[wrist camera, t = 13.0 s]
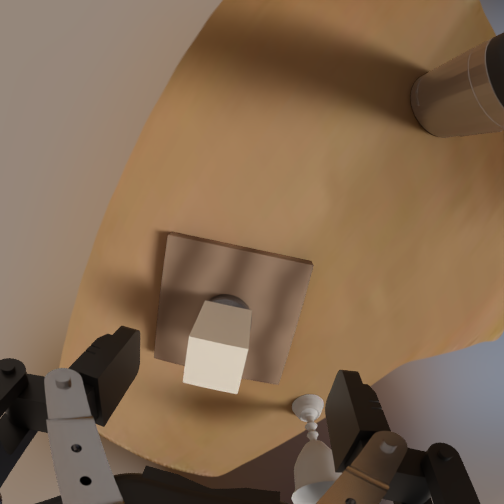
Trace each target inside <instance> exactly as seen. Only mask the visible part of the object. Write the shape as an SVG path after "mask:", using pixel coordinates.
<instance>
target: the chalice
mask: <svg viewBox="0 0 504 504" xmlns="http://www.w3.org/2000/svg"><path fill="white" fill-rule="evenodd" d="M323 406H324V403H323V400H322V399H321V398H320V397H319V396H317V395H313V394H307V395H303V396H300V397H298V398H297V399H296V400H295V401H294V402H293V404H292V411H293V412H294V413H295V414H296V416H297V417H298V418H299V419H300V420H302V421H305V422H307V424H306V426H305V428H306V429H307V430H308V431H309V433H308V434H307V437H308V438H309V439H310V442H308V443H307V444H306V445H305V446H304V448H303V449H302V451H301V453H300V454H299V456H298V459H297V462H296V464H295V468H294V477H295V489H296V490H295V492H294V494H293V496H292V501H293V503H294V504H316V503H317V502H318V500H319V499H320V498H321V497H322V496H323V495H324V494H325V493H326V492H327V490H328V489H329V488H330V487H331V486H332V485H333V483H334V482H335V481H336V480H337V479H338V478H339V476H340V475H341V474H342V473H335V467H334V461H333V455H332V450H331V449H330V448H329V447H327V446H326V445H325V444H324V443H323V442H321V441H318V440H317V436H318V433H317V432H316V431H315V429H316V428H317V424H316V423H314V420H315V419H317V418H318V417H319V416H320V414H321V411H322V409H323Z"/></svg>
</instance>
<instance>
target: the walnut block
mask: <svg viewBox="0 0 504 504" xmlns="http://www.w3.org/2000/svg"><path fill="white" fill-rule="evenodd" d="M313 266H314V265H313V264H312V262H311V261H308V260H303V259H299V258H294V257H289V256H284V255H280V254H275V253H270V252H266V251H261V250H256V249H251V248H247V247H242V246H237V245H232V244H228V243H223V242H218V241H214V240H209V239H204V238H199V237H195V236H190V235H185V234H180V233H175V232H171V233H170V234H168V237H167V244H166V251H165V258H164V266H163V274H162V282H161V290H160V299H159V308H158V318H157V329H156V340H155V352H154V358H156V359H160V360H163V361H167V362H171V363H175V364H179V365H183V366H185V361H186V354H187V347H188V340H189V335H190V333H191V331H192V328H193V326H194V324H195V322H196V320H197V317H198V315H199V313H200V311H201V308H202V306H203V304H204V302H205V300H206V301H208V300H210V299H211V298H212V297H214V296H217V295H221V294H230V295H234V296H237V297H239V298H240V299H242V300H243V301H244V302H245V303H246V304H247V305H248V307H249V309H250V310H252V322H251V330H250V338H249V349H248V353H247V357H246V361H245V365H244V369H243V373H242V379H248V380H253V381H259V382H264V383H270V384H276V385H279V382H280V379H281V376H282V372H283V369H284V366H285V363H286V360H287V357H288V353H289V350H290V347H291V343H292V340H293V337H294V333H295V330H296V327H297V323H298V320H299V316H300V313H301V309H302V306H303V302H304V299H305V295H306V292H307V288H308V284H309V281H310V277H311V273H312V270H313Z"/></svg>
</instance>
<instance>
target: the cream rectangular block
mask: <svg viewBox="0 0 504 504" xmlns="http://www.w3.org/2000/svg"><path fill="white" fill-rule="evenodd" d="M251 316H252V310H248V309H243V308H238V307H234V306H229V305H224V304H220V303H215V302H210V301H206V300H205V302H204V304H203V306H202V308H201V311H200V313H199V315H198V317H197V320H196V322H195V324H194V326H193V328H192V331H191V333H190V335H189V340H188V347H187V354H186V361H185V369H184V377H183V382H184V383H188V384H192V385H196V386H200V387H205V388H209V389H214V390H219V391H223V392H228V393H234V394H238V390H239V386H240V382H241V378H242V373H243V369H244V365H245V361H246V357H247V353H248V349H249V338H250V327H251Z"/></svg>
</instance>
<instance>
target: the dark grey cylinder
mask: <svg viewBox="0 0 504 504" xmlns="http://www.w3.org/2000/svg"><path fill="white" fill-rule="evenodd" d="M208 301H210V302H215V303H220V304H224V305H229V306H234V307H238V308H243V309H248V310H250V309H249V307H248V305H247V304H246V303H245V302H244V301H243V300H242V299H240V298H239V297H237V296H234V295H230V294H221V295H217V296H214V297H212V298H211V299H210V300H208ZM251 322H252V316H251ZM250 330H251V327H250Z"/></svg>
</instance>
